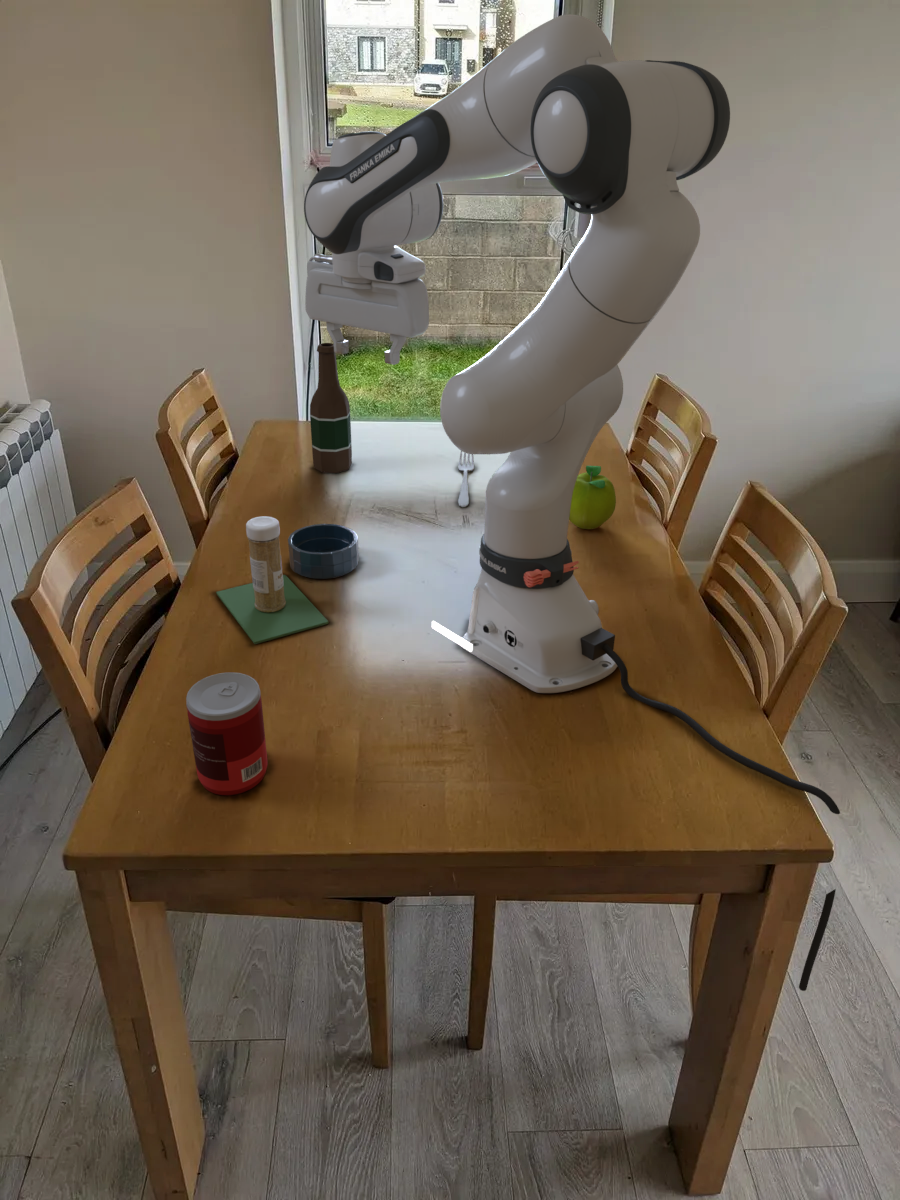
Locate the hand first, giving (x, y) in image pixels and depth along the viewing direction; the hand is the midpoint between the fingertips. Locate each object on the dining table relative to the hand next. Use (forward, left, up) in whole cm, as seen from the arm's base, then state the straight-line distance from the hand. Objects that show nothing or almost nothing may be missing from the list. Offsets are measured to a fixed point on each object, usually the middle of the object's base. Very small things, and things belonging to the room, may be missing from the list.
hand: (366, 358), depth 137 cm
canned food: (-43, +39, -31) cm, 66 cm away
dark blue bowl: (-2, +9, -31) cm, 33 cm away
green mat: (-11, +22, -31) cm, 40 cm away
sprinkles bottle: (-11, +22, -31) cm, 39 cm away
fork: (+16, -28, -31) cm, 45 cm away
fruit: (-11, -36, -31) cm, 49 cm away
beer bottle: (+35, -9, -31) cm, 48 cm away
